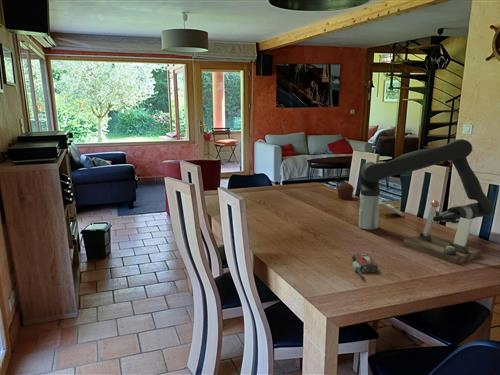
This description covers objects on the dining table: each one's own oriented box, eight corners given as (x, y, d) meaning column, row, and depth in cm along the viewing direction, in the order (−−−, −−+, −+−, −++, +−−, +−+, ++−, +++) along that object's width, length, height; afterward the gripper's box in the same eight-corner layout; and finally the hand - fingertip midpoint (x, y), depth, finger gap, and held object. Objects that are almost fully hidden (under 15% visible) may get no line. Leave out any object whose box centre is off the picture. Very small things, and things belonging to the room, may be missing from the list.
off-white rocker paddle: (454, 245, 162) (461, 217, 161) (464, 249, 158) (472, 220, 157) (452, 245, 162) (460, 217, 161) (462, 248, 158) (470, 219, 157)
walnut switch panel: (427, 239, 182) (428, 228, 181) (480, 256, 161) (481, 244, 160) (403, 245, 175) (404, 234, 174) (455, 264, 153) (456, 251, 152)
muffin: (355, 199, 261) (356, 185, 259) (338, 199, 261) (339, 185, 259) (351, 195, 273) (351, 181, 271) (335, 196, 273) (335, 181, 271)
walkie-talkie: (347, 260, 159) (360, 281, 140) (347, 249, 158) (360, 270, 139) (368, 260, 159) (384, 281, 140) (369, 249, 158) (385, 269, 139)
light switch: (404, 213, 219) (382, 201, 219) (399, 222, 220) (376, 210, 220) (400, 210, 227) (378, 198, 227) (394, 218, 229) (373, 206, 228)
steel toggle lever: (423, 236, 176) (435, 200, 175) (430, 238, 173) (441, 202, 173) (419, 234, 174) (430, 198, 174) (425, 236, 172) (437, 200, 171)
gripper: (447, 203, 188) (422, 207, 180) (473, 209, 177) (449, 214, 169) (445, 218, 190) (421, 223, 182) (472, 225, 178) (447, 231, 170)
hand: (434, 219), depth 175 cm, fingers closed
